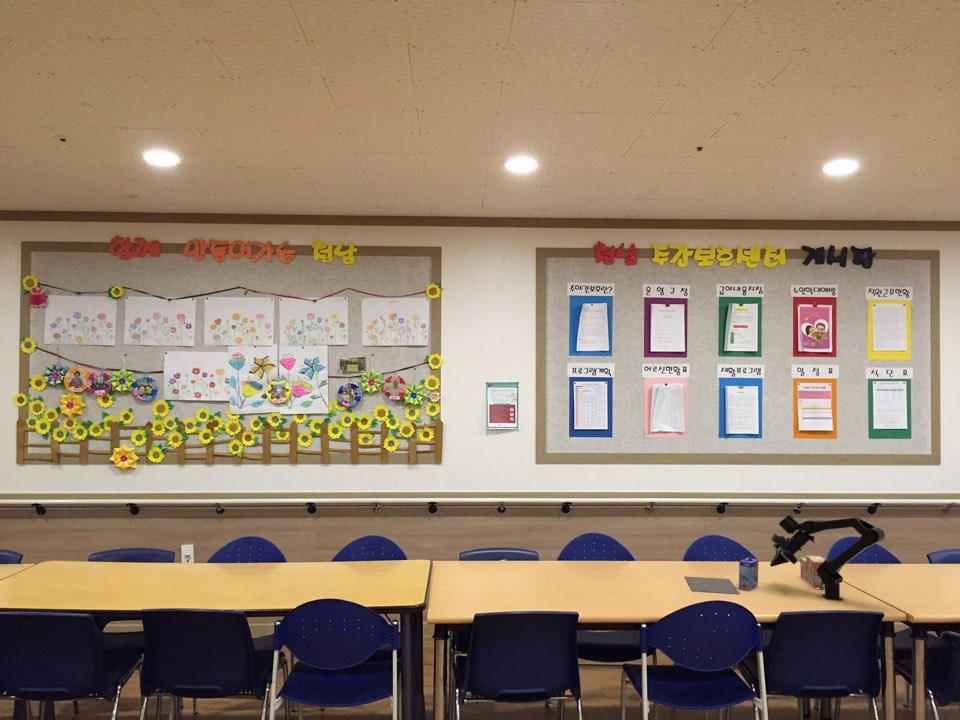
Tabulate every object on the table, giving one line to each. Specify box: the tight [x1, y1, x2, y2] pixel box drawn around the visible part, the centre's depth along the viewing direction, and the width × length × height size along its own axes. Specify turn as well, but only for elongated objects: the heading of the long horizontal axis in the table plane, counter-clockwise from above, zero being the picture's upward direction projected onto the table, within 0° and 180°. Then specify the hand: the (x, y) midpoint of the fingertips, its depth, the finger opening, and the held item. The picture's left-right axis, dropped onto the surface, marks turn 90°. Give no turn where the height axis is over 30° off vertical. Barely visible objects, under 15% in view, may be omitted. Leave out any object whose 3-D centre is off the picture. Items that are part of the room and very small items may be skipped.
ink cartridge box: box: [738, 554, 759, 591], centre depth 297 cm, size 10×6×14 cm, turn 138°
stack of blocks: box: [799, 555, 826, 590], centre depth 307 cm, size 21×6×12 cm, turn 170°
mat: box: [684, 575, 741, 595], centre depth 300 cm, size 24×20×1 cm
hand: (770, 565), depth 296 cm, fingers closed
